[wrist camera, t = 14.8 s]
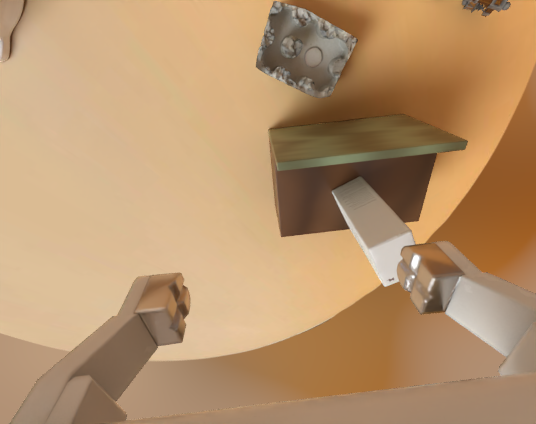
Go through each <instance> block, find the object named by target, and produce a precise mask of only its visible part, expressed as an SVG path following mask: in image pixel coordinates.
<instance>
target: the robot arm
mask: <svg viewBox="0 0 536 424" xmlns="http://www.w3.org/2000/svg"><path fill="white" fill-rule="evenodd" d="M23 5H24V0H0V62H4V61H6V60H7V59H8V58H9V54H10V35H11V33H12V31H13V29H14V27H15V26H16V24H17V23H18V21H19V19H20V17H21V14H22V10H23ZM400 255H401V256H402V258H403V259H402V260H401V261H400V262H399V263H398V266H397V276H398V279H399V282H400V284H401V285H402V287H403V288H404V289H405V290H407V291H409V292H410V293H411V296H410V299H411V301H412V302H413V304H414V305H415V307H416V308H417V310H418V311H419V313H420V314H430V313H441V312H445V314H447V315H448V316H449V317H451V318H452V319H454V320H455V321H456V322H458V323H459V324H461V325H462V326H463V327H465V328H466V329H468V330H469V331H470V332H472V333H473V334H475V335H476V336H477V337H479V338H480V339H482V340H483V341H484V342H486V343H487V344H489V345H490V346H492V347H493V348H494V349H496V350H497V351H499V352H500V353H501V354H503V355H504V356H506V359H505V360H504V361H503V363H502V364H501V365H500V366H499V370H498V371H499V373H500V374H501V376H494V377H486V378H477V379H469V380H461V381H452V382H444V383H436V384H427V385H419V386H410V387H402V388H393V389H385V390H377V391H369V392H360V393H351V394H343V395H335V396H327V397H318V398H310V399H301V400H293V401H284V402H276V403H269V404H259V405H251V406H243V407H235V408H226V409H218V410H209V411H201V412H193V413H185V414H176V415H168V416H159V417H151V418H143V419H134V420H126V418H127V414H126V412H125V411H124V410H123V409H122V408H121V407H120V406H119V405H118V404H117V403H116V401H117V400H118V398H119V397H120V396H121V395H122V393H123V392H124V391H125V389H126V388H127V387H128V386H129V384H130V383H131V382H132V380H133V379H134V378H135V377H136V375H137V374H138V373H139V371H140V370H141V369H142V367H143V366H144V365H145V364H146V362H147V361H148V360H149V358H150V357H151V356H152V355H153V353H154V352H155V351H156V349H157V348H158V347H157V346H162V345H169V344H176V343H182V341H183V337H184V332H185V328H186V323H185V321H184V318H185V317H186V316H187V315H188V314H189V310H190V294H189V291H188V288H187V287H185V286H184V285H183V283H184V278H183V276H182V273H169V274H159V275H152V276H140V277H137V278H136V279H135V280H134V282H133V284H132V286H131V288H130V290H129V292H128V294H127V296H126V298H125V301H124V303H123V305H122V307H121V309H120V311H119V313H118V315H117V316H112V317H111V318H110V319H109V320H108V321H106V322H105V323H104V324H103V325H102V326H101V327H99V328H98V329H97V330H96V331H95V332H93V333H92V334H91V335H90V336H89V337H88V338H86V339H85V340H84V341H83V342H82V343H80V344H79V345H78V346H77V347H76V348H74V349H73V350H72V351H71V352H70V353H69V354H67V355H66V356H65V357H64V358H63V359H61V360H60V361H59V362H58V363H57V364H55V365H54V366H53V367H52V368H51V369H50V370H48V371H47V372H46V373H45V374H44V375H42V376H41V377H40V378H39V379H38V380H37V381H36V383H35V384H34V386H33V388H32V389H31V391H30V392H29V394H28V396H27V397H26V399H25V400H24V402H23V403H22V405H21V407H20V408H19V410H18V411H17V413H16V414H15V416H14V417H13V419H12V421H11V422H10V424H536V294H535V293H533V292H531V291H528V290H526V289H524V288H522V287H519V286H517V285H515V284H512V283H510V282H508V281H506V280H503V279H501V278H499V277H496V276H494V275H492V274H489V273H487V272H486V273H482V272H481V271H480V270H479V269H478V268H477V267H476V266H475V265H474V264H472V263H471V262H470V261H469V260H468V259H467V258H466V257H465V256H464V255H463V254H462V253H461V252H460V251H459V250H458V249H457V248H455V246H453V245H452V244H451V243H450V242H448V241H440V242H433V243H425V244H417V245H409V246H404V247H403V248H402V249H401V253H400Z"/></svg>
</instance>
